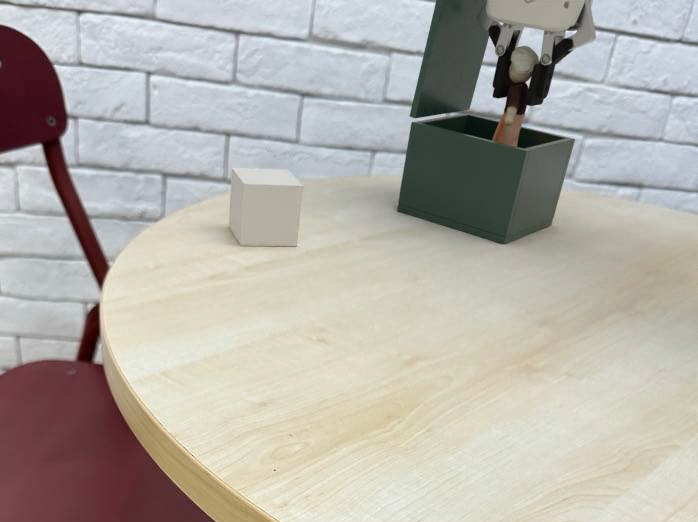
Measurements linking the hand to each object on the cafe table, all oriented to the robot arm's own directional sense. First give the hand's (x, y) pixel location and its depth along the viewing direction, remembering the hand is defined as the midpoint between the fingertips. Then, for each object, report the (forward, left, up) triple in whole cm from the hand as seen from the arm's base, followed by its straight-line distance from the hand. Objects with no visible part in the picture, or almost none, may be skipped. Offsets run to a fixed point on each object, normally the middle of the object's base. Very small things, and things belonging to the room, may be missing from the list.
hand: (517, 99), depth 94 cm
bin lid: (+8, 0, +5) cm, 9 cm away
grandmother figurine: (0, 0, -8) cm, 8 cm away
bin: (+2, 0, -13) cm, 14 cm away
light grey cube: (+12, +28, -14) cm, 33 cm away
